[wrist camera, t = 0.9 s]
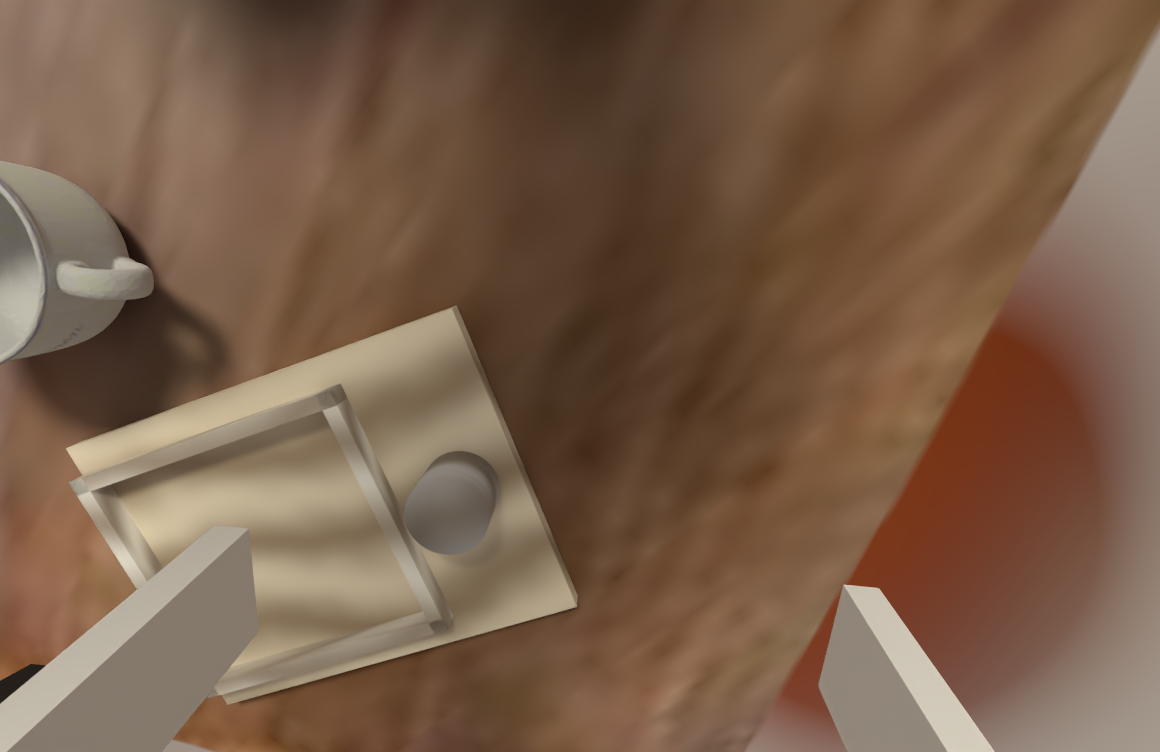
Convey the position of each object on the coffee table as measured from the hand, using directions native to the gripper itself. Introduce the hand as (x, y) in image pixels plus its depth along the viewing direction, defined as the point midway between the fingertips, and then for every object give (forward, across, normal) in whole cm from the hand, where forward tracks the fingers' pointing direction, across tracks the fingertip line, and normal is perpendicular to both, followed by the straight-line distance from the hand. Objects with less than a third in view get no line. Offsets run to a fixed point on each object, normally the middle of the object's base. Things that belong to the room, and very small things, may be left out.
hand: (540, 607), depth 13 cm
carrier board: (+24, -16, -14) cm, 32 cm away
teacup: (+25, -30, +3) cm, 39 cm away
